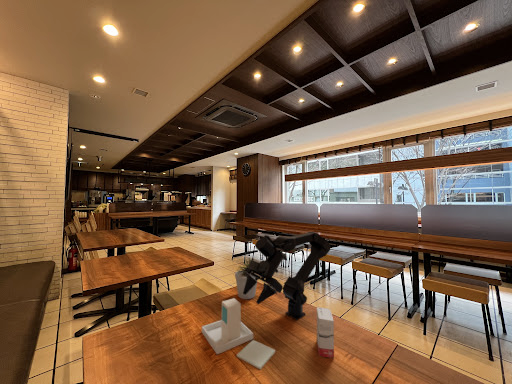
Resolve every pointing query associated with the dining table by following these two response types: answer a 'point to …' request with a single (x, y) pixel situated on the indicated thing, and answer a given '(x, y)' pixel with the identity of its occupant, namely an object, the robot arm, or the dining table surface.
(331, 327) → the ink box
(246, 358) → the board
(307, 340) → the dining table surface
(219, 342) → the parts tray
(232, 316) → the carton
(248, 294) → the potted plant
